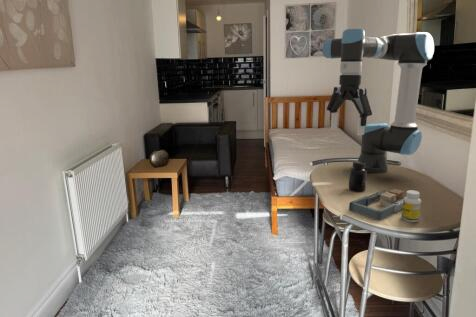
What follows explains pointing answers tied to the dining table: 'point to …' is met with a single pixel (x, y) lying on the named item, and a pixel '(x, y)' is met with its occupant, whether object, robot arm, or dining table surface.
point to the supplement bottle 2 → (411, 206)
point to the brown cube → (397, 194)
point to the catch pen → (370, 209)
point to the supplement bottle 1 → (357, 177)
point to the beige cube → (387, 199)
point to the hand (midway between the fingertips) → (346, 132)
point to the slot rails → (376, 197)
